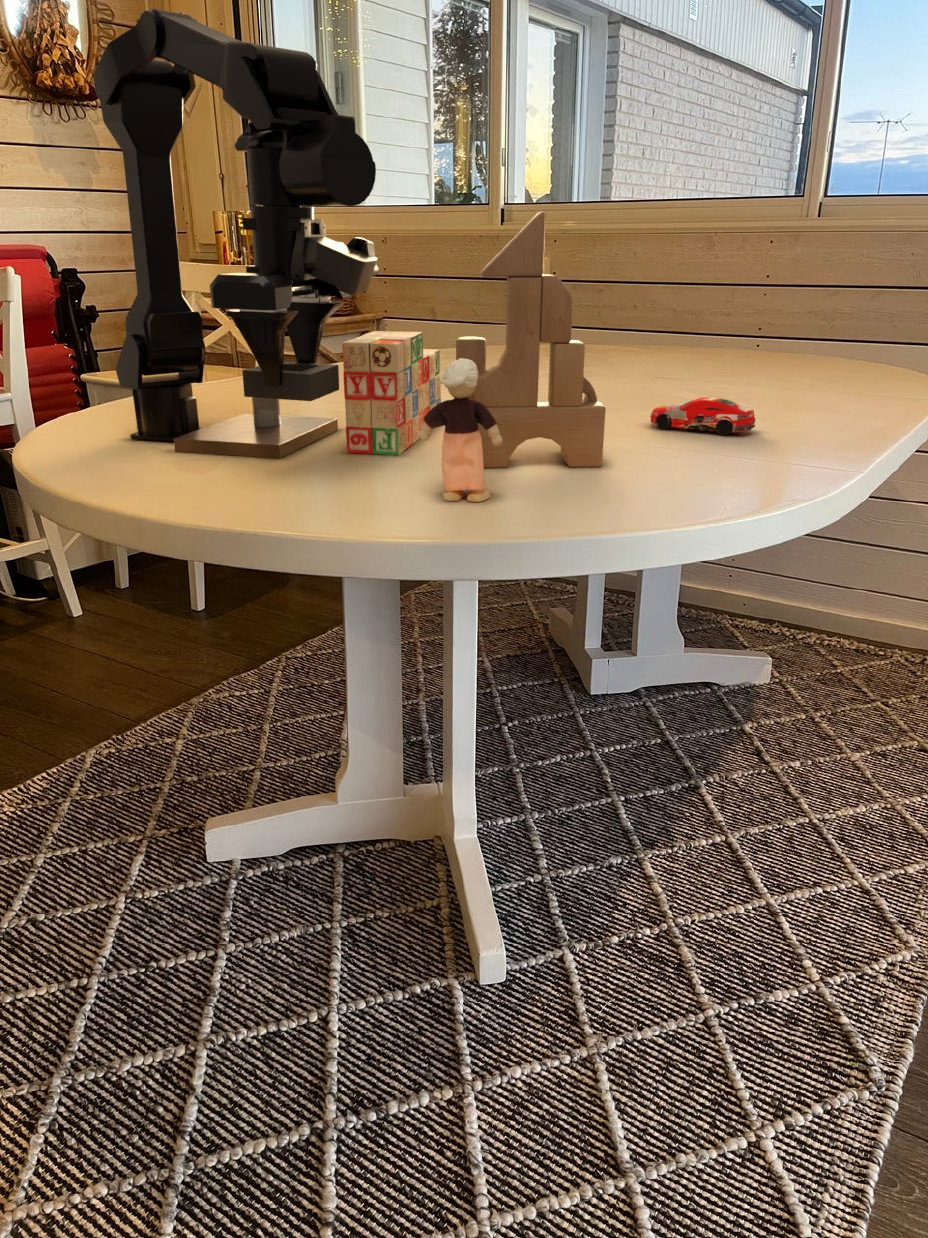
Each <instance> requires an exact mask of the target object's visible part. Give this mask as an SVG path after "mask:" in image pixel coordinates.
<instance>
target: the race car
mask: <svg viewBox="0 0 928 1238" xmlns="http://www.w3.org/2000/svg"><path fill="white" fill-rule="evenodd" d="M650 423H652V424H653V425H657V427H658V428H659V429H660V430H663V431H664V430H668V429H669V428H676V429H677V428H679V429H688V430H698V431H708V432H716V431H717V433H718V434H719V435H720V436H728V435H730V434H731V433H741V432H742V433H743V432H747V431H751V430H752V429H754V428H756V425H755V424H756V417H755V410H754V409H753V408H751V407H747V406H744V405H742V404H740V403H738V402H736V401H733V400H729V399H726V398H722V397H721V398H719V397H712V396H710V397H707V396H706V397H705V396H704V397H698V398H695V399H693V400H690V401H687V402H685V403H681V404H680V403H679V404H666V405H661V406H660V405H659V406H657V407H655V408H653V409H652V411H651V413H650Z"/></svg>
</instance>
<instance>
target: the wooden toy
mask: <svg viewBox="0 0 928 1238" xmlns="http://www.w3.org/2000/svg"><path fill="white" fill-rule="evenodd" d="M545 239H546V213H545V211H539V212H537V213H536V214H535V215H534V216H533V217H532V218H531V219H530V220H529V221H528V222H527V223H526V224H525V225H524V226H523V227H522V228H521V229H520V230H519V231H518V232H517V233H516V234H515V235H514V237H512V238H511V240H510V241H508V242H507V244H506V245H505V246H504V247H502V249H501V250H499V252H498V253H497V254H496V255H495V256H494V257H493V258H492V259H491V260H490V261H489V262H488V263H487V264H486V265H485V266H484V267H483V268H482V269H481V270H480V274H479V275H480V276H482V277H483V278H506V307H505V308H506V309H505V310H506V313H505V314H506V315H505V317H506V318H505V348H504V351H503V353H502V354H501V356H500V357H499V359H498V361H497V363H496V364H494V365H493V366H491V367H490V368H488V369H487V340H486V338H485V337H483V336H460V337H457V338H456V341H455V360H458V359H460V358H463V359H469V360H472V361H473V362H474V363H475V364H476V366H477V369H478V379H477V385H476V387H475V391H474V393H473V395H471V396H470V397H469V398H468V399H471V400H475V401H478V402H480V403H482V404H483V405H484V406H485V407H486V408H487V409H488V410H489V412H490V413H491V415H492V416H493V418H494V419H495V420H496V422H497V427H498V429H499V435H500V436H501V437H502V439H503V442H502V444H501V445H499V446H494V445H493V444H492V442H491V437H490V436H489V435H488V432H487V430H485V429H484V427H483V426H482V425H481V424H479V423H478V428H479V432H480V435H481V439H482V449H483V467H484V469H486V468H490V469H491V468H494V469H495V468H497V469H498V468H508V467H509V465H510V462H511V461H510V460H511V456H512V455H513V453H514V452H515V450H516V449H517V448H518V447H519V446H520V445H521V444H523V443H525V442H526V441H528V440H533V439H538V438H541V439H547V440H551V441H553V442H554V443H556V444H557V445H558V446H559V447H560V455H561V456H562V458H563V460H564V462H565V463H566V465H567V466H568V467H570V468H600V467H602V465H603V457H604V439H605V425H606V424H605V423H606V406H605V405H604V404H603V403H601V402H600V401H598V396H597V393H596V390H595V388H594V386H593V385H592V384H591V382H590V381H589V380H588V379H587V378H586V377H584V375H585V374H584V373H585V356H586V355H585V354H586V353H585V352H586V345H585V343H583V342H582V341H580V340H578V339H577V340H576V339H574V340H573V339H572V330H573V329H572V328H573V311H574V309H573V307H574V294H573V293H572V292H571V291H570V290H569V288H568V287H567V286H566V285H565V283H564V282H563V281H562V280H561V279H560V277H559V276H557V275H554V274H544V273H545V272H544V270H545V269H544V267H545V242H546V241H545ZM540 343H542V344H549V361H548V363H549V364H548V365H549V366H548V368H549V369H548V389H547V390H548V391H547V401H538V400H539V377H540V376H539V375H540V350H541V349H540V345H541V344H540ZM583 394H584V397H583Z"/></svg>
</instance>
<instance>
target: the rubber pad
mask: <svg viewBox="0 0 928 1238" xmlns="http://www.w3.org/2000/svg"><path fill="white" fill-rule="evenodd" d="M339 369H340V367H339V364H333V363H317V362H316V363H299V362H297V361H296V362H295V361H283V375H282V384H281V386H279V387H275V386H270V385H269V383H268V382H267V380H266V378H265V376H264V374H263V372H262V370H261V368H260V367H259V365H257V366H254V367H250V368H245V369H243V370H242V385H243V396H244V397H245V398H252V397H256V398H270V399H279V400H287V401H299V402H313V401H315V400H318V399H320V398H322V397H325V396H328V395H331V394H332V393H335V392H337V391H339V390H340V373H339V372H340V370H339Z"/></svg>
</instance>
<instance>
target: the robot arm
mask: <svg viewBox="0 0 928 1238" xmlns="http://www.w3.org/2000/svg"><path fill="white" fill-rule="evenodd" d="M172 64H173V65H172ZM317 67H318V64H317V62H316V60H315V58H314V57H313V56H312V55H311V54H310V53H309V52H306V51H302V50H300V51H299V50H296V49H289V48H282V47H277V46H271V45H264V44H258V43H252V42H245V41H241V40H239V39H236V37H235V38H234V37H233V36H230V35H228V34H225V33H224V32H221V31H219V30H217V29H215V28H212V27H210V26H207V25H206V24H203V23H202V22H199V21H198V20H196V18H193V17H192V16H191V15H189V14H185V13H181V12H175V11H170V10H163V9H158V8H150V10H144V11H142V13H141V15H140V16H139V19H138V20H137V21H136V24H135V25H134V26H132V27H131V28H130V29H128V30H126V31H125V32H123V33H122V34H120V35H119V36H117V37H116V38H114V39H112V40H111V41H109V43H108V44H107V45H106V47H105V49H104V51H103V53H102V55H101V57H100V59H99V61H98V63H97V65H96V67H95V70H94V75H93V83H94V89H95V90H94V91H95V94H96V96H97V99H98V101H99V103H100V104H99V105H100V109H101V115H102V116H101V117H102V121H103V124H104V125H105V126H106V128H107V130H108V132H109V133H110V134H111V136H112V138H113V139H114V140H115V142H116V143H117V146H118V147H119V148H120V150H121V152H122V158H123V166H124V176H125V186H126V195H127V204H128V205H127V206H128V213H129V214H128V215H129V216H128V217H129V223H130V234H131V235H130V236H131V243H132V253H133V262H134V273H135V282H136V291H137V292H136V293H137V294H136V296H135V298H134V300H133V302H132V304H131V306H130V308H129V310H128V312H127V314H126V316H125V339H124V341H123V344H122V347H121V349H120V353H119V357H118V359H117V362H116V365H115V373H116V376H117V380H118V384H119V386H120V387H124V388H128V389H131V391H132V400H133V407H134V414H135V421H136V422H135V423H136V429H137V431H136V432H133V433H131V434H130V435H129V436H130V439H133V440H146V441H147V440H148V441H149V440H150V441H163V442H174V438H177V437H180V436H182V435H185V434H188V433H191V432H194V431H196V430H199V429H202V428H203V427H200V422H199V412H198V403H197V397H196V396H194V394H193V386H192V385H193V384H202V383H203V381H204V380H203V379H204V372H205V371H204V370H205V357H206V344H205V339H204V333H203V317H202V316H201V313H200V312H199V311H198V310H195V311H194V310H193V309H192V307H191V305H190V304H189V302H188V301H187V299H186V298H185V296H184V294H183V287H182V286H183V284H182V276H181V262H180V253H179V252H180V251H179V240H178V228H177V218H176V217H177V216H176V206H175V195H174V194H175V193H174V183H173V182H174V181H173V172H172V171H173V169H172V159H171V158H172V156H171V153H172V150H173V148H174V146H175V144H176V143H177V141H178V138H179V136H180V134H181V132H182V130H183V127H184V106H185V105H186V103H187V101H188V100H189V98H190V97H191V96H192V94H193V92H194V91H195V90H196V87H197V85H196V79H195V76H197V77H199V78H201V79H203V80H205V81H207V82H209V83H211V84H213V85H214V86H217V87H218V88H219V89H220V90H221V91H222V99H223V101H224V103H226V104H227V105H228V106H229V107H230V108H231V109H232V110H234V111H235V112H236V113H237V114H238V115H239V116H240V117H241V118H243V119H244V120H249V122H248V123H247V125H246V128H245V130H244V131H243V133H241V134H240V136H238V138H237V139H236V142H235V143H234V148H235V150H236V152H244V153H246V160H247V161H246V163H247V174H248V175H247V176H248V177H247V178H248V190H249V205H250V217H242V229H243V231H251V234H252V235H251V236H252V249H253V263H254V265H246V266H245V272H232V273H231V272H230V273H219V274H217V275H216V276H215V278H214V279H213V280H212V282H211V283H210V284H209V293H210V294H209V295H210V304H211V308H212V309H221V310H222V309H224V310H225V315H226V317H227V318H228V317H229V318H231V320H232V322H233V324H234V325H235V327H236V329H238V331H239V333H240V334H241V336H242V338H243V339H244V341H245V343H246V345H247V346H248V348H249V350H250V352H251V354H252V356H253V357H254V359H255V362H257V366H259V367H260V368H261V370H262V372H263V374H264V376H265V378H266V380H267V382H268V383H269V385H270V386H275V387H279V386H281V384H282V375H283V362H285V361H284V360H285V359H284V358H285V341H286V340H285V339H286V330H287V334H288V337H289V340H290V343H291V346H292V350H293V353H294V356H295V360H296V362H299V363H317V359H318V355H319V351H320V346H321V342H322V338H323V334H324V331H325V326H326V324H327V321H328V319H329V318H330V317H331V316H332V315H333V314H335V312H336V311H337V310H339V309H341V308H342V306H344V302H343V301H331V299H332V298H331V297H336V299H337V300H338V299H339V300H341V299H342V300H343V299H349V298H353V296H357V295H358V294H360V293H363V294H367V293H368V291H369V289H370V288H369V287H370V285H371V282H372V278H373V276H377V275H378V274H379V272H380V269H379V266H378V262H379V257H376V251H375V244H374V243H375V242H373V241H370V240H369V239H366V238H364V237H360V236H358V237H357V236H355V237H353V238H351V240H350V241H349V242H348V243H346V244H345V242H342V241H335V240H334V239H331V238H328V237H327V235H326V234H327V233H326V231H327V230H326V223H324V222H323V219H322V218H321V219H317V218H315V207H355V206H358V205H361V204H362V203H363V202H365V201H366V200H367V199H368V197H369V196H370V195H371V192H372V191H373V189H374V186H375V183H376V176H377V175H376V174H377V166H376V162H375V161H374V159H373V154H372V152H371V150H370V147H369V146H368V144H367V142H366V141H365V140H364V138H363V137H362V136H361V135H360V134H358V133H356V119H355V117H354V116H350V115H343V114H339V113H338V111H337V110H336V107H335V105H334V103H333V100H332V99H331V96H330V94H329V92H328V89H327V87H326V85H325V83H324V82H323V78H322V77H321V75H320V73H319V71H318V70H317Z"/></svg>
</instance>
